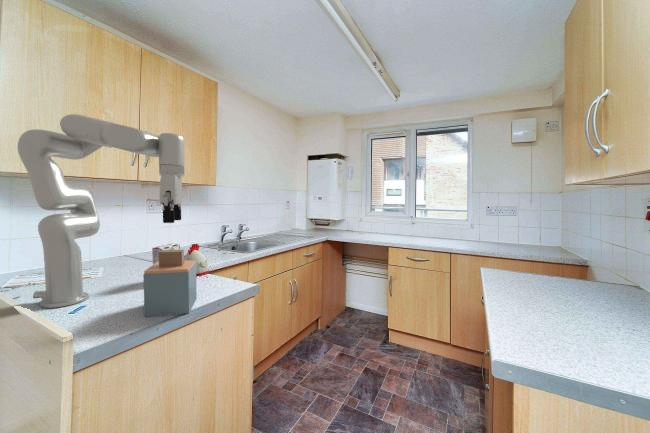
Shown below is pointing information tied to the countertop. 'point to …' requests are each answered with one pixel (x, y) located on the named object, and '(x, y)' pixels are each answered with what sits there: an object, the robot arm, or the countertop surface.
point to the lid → (170, 263)
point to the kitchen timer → (197, 260)
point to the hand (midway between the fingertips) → (172, 221)
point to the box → (169, 293)
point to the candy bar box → (165, 247)
